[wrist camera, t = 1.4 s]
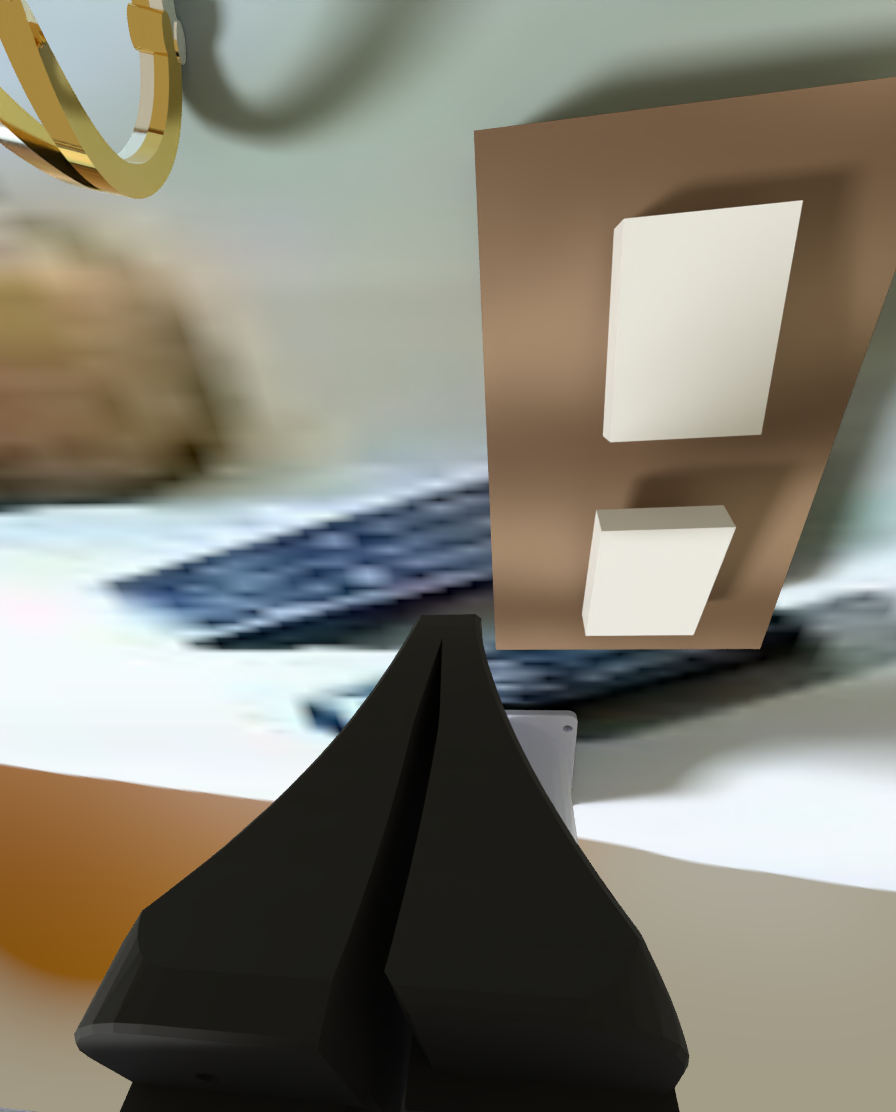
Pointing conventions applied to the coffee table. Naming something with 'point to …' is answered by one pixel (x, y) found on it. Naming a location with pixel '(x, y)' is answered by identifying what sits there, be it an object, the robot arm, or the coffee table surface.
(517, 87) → the coffee table surface
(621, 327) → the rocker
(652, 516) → the block
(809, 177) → the switch box
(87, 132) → the ring
